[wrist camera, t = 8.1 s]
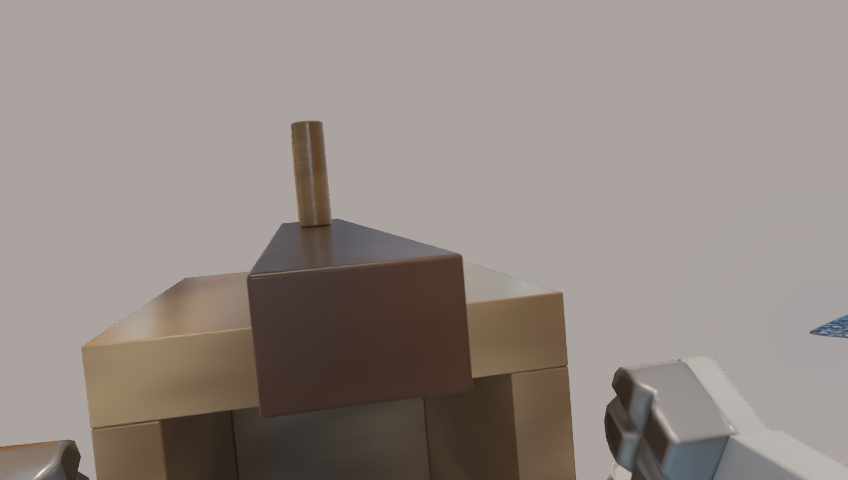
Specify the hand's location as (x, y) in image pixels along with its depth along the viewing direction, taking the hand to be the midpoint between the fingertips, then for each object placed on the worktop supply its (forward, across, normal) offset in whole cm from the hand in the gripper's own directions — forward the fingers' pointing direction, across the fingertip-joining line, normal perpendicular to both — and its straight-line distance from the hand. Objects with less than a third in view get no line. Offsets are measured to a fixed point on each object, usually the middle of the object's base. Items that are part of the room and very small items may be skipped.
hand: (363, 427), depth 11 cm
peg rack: (+12, 0, +6) cm, 13 cm away
